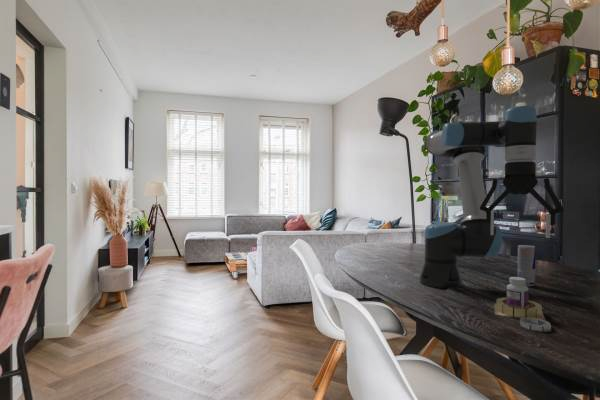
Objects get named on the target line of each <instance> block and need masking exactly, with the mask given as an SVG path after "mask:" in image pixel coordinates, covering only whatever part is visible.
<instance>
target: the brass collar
mask: <svg viewBox="0 0 600 400" xmlns="http://www.w3.org/2000/svg"><path fill="white" fill-rule="evenodd" d="M495 301H496V303H495V304H496V310H497V311H498V312H500V313H502V314H505V315H508V316H507V317H509V316H512V317H511V318H516V317H517V318H516V319H520V318H525V317H528V318H529V317H530V318H540V317H542V313H543V306H542V305H541V304H540V303H538V302H536V301H533V300H529V308H521V307H514V306H511V305H507V297H500V298H497V299H496V300H495Z"/></svg>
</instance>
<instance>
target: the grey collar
mask: <svg viewBox="0 0 600 400" xmlns="http://www.w3.org/2000/svg"><path fill="white" fill-rule="evenodd" d="M545 320H546V319H545ZM545 320H542V319H538V318H530V317H529V318H528V317H525V318H519V322H520V324H519V325H520V327H521V328H524V329H527V330H529V331H534V332H539V333H541V332H543V333H546V332H551V331H552V325H551V322H549V321H548V320H546V321H545Z"/></svg>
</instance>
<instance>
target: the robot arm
mask: <svg viewBox="0 0 600 400" xmlns="http://www.w3.org/2000/svg"><path fill="white" fill-rule="evenodd" d="M504 116H505V117H504V120H501V121H496V120H494V121H475V122H474V121H469V122H467V121H466V122H465V121H464V122H458V121H455V122H454V121H453V122H447V123H445V124H444V125H443V127H442V129H441V130H438V129H437V130H435V131H432V132H430V133H428V135H427V136H426V137H425V140H424V146H425V150H426V151H427V152H428V153H429V154H431V155H432V156H435V157H440V158H452V162H453V164H454V165H456V166H457V171H458V180H459V187H460V190H459V191H460V198H461V205H462V206H461V207H462V215H463V219H462V220H461V222H459V224H458V223H457V222H454V221H453V222H438V223H431V224H428V225H427V226H426V227H425V230H424V263H423V266H422V269H421V272H420V275H419V282H420V283H421V284H422V285H424V286H427V287H433V288H437V289H438V288H439V289H449V287H451V288H460V287H462V286H463V279H462V275H461V273H460V269H459V267H458V257H460V258H462V257H463V258H481V259H484V258H495V257H496V256H497V255H498V254H499V252H500V250H501V248H502V243H503V233H502V230H501V228H500V227H499V226H496V225H495V224H494V223H495V222H494V220H495V218H494V217H495V216H494V215H495V212H492V211H493V210H494V209H495V208H496V207H497V206H498V205H500V203H501V202H502V201H503V200H504V199H505V198H506V197H507V196H508V195H509V194H512V195H528V194H530V195H531V196H532V197H533V198H534V199H535V200H536V201H537V202H538V203H539V204H540V205H541V206H542V207H543V208H544V209H545V210H546V211H547V212H548V213H545V238H546V239H551V226H552V227H554V226H556V214H559V213H562V212H564V207H563V206H562V204H561V202H560V200H559V199H558V196H557V195H556V194H555V193H556V192H554V189H552V187H551V183H550V178H549V177H546V178H542V179H537V175H536V171H537V170H536V169H537V163H536V162H535V160H536V159H537V127H538V126H537V122H538V118H537V109H536V106H535V107H534V106H532V105H518V106H512V107H510V108H508V109H507V110H506V111H505V115H504ZM492 146H493V147H496V148H504V161H505V164H504V178H503V179H496V178H493V179H492V183H491V187H490V189H489V190H488V192H487V194H486V192H485V185H484V184H485V183H484V177H483V170H482V164H481V163H482V162H483V160H484V159H485V157H486V156H487V154H488V151H489V147H492ZM538 184H539V185H540V187H543V189H544V191H545V192H546V193H547V195H548V197H549V199H550V201H551V202H552V204H553V206H554V207H555V208H553V206H552V205H550V204H549V203H548V202H547V201H546V199H544V198H543V197H542V196H541V195H540V194H539V193H538V192H537V190H535V189H534V188H536V186H537V185H538ZM500 185H503V186H504V187H505V190H504V191H503V192H502V193H501V194H500V195H499V196H498V197H497V198H496V199H495V200H494V201H493V202H492V203H491V204H490V205H489V206H487V205H488V203H489V201H490V200H491V198H492V196H493V194H494V193H495V191H496V189H497V188H498V187H500Z"/></svg>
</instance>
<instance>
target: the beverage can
mask: <svg viewBox="0 0 600 400" xmlns="http://www.w3.org/2000/svg"><path fill="white" fill-rule="evenodd" d="M517 277H520V278H524V279H526V284H525V286H527V287H534V286H535V285H536V246H535V245H529V244H528V245H527V244H519V245H517Z"/></svg>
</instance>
